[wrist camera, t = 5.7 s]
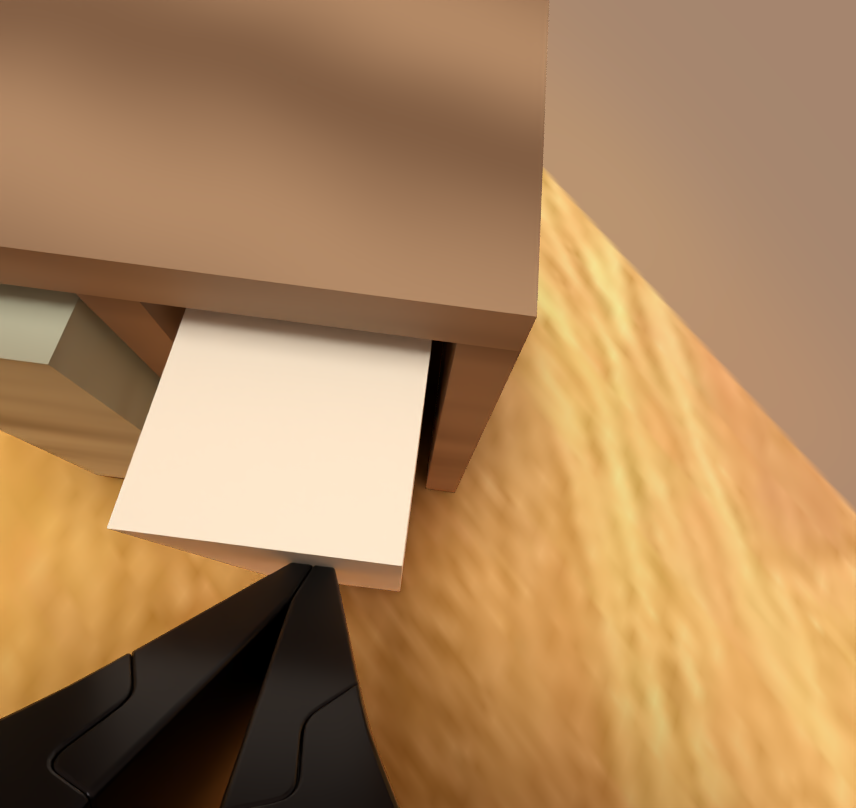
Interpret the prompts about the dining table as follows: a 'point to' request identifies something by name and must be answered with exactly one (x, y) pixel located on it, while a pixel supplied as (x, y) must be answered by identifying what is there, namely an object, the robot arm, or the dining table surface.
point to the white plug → (281, 447)
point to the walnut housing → (262, 195)
